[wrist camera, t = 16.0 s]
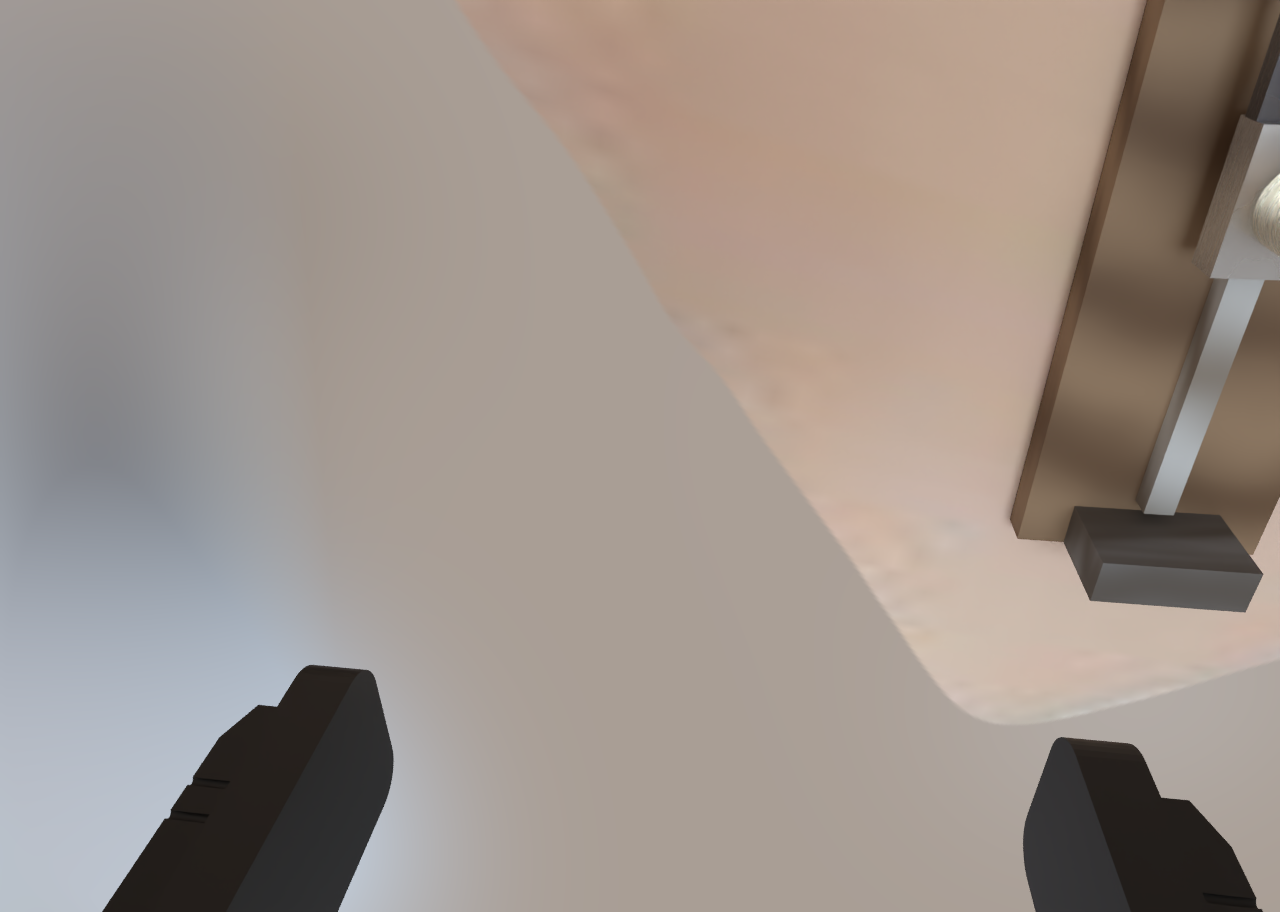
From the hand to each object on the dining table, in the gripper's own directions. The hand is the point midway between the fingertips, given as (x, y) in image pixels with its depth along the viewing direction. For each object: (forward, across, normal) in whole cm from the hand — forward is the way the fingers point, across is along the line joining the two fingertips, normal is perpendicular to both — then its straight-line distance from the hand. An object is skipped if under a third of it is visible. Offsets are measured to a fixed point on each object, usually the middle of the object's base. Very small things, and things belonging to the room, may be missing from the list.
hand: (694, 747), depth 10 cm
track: (+28, -18, +4) cm, 34 cm away
